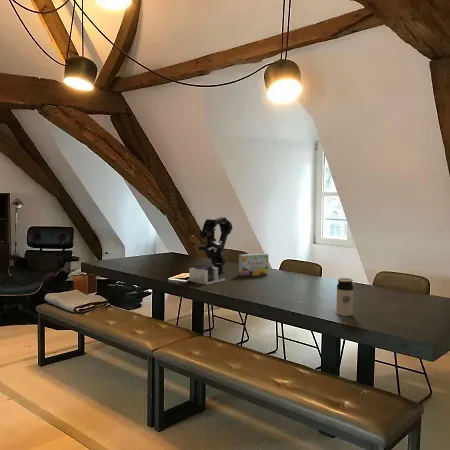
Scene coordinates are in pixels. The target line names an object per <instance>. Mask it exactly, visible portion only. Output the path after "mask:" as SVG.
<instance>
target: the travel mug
mask: <svg viewBox="0 0 450 450" xmlns="http://www.w3.org/2000/svg"><path fill="white" fill-rule="evenodd" d="M337 281H338V283H337V285H336V314H337V315H338V316H342V317H349V316H352V315H353V309H354V308H353V305H354V304H353V303H354V302H353V301H354V285H353V281H354V280H353V279H352V278H348V277H347V278H346V277H340V278H337Z"/></svg>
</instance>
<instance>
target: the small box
mask: <svg viewBox="0 0 450 450" xmlns="http://www.w3.org/2000/svg"><path fill="white" fill-rule="evenodd" d="M213 267H214V265H206V264H198V265H195V266H194V268H198V269H204V270H208V282H209V281H212V268H213Z"/></svg>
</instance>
